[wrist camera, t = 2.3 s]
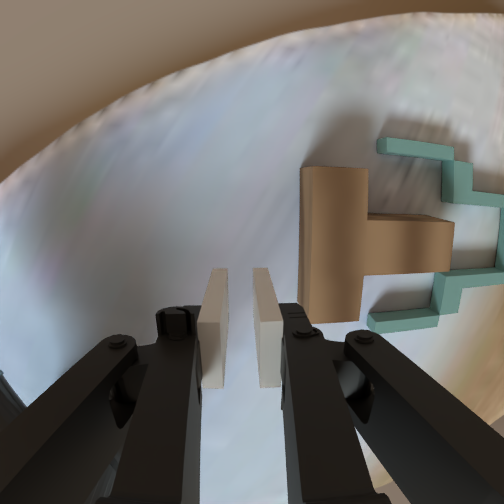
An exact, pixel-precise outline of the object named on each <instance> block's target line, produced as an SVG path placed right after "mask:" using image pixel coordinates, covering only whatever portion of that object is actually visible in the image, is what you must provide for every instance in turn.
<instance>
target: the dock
mask: <svg viewBox="0 0 504 504" xmlns="http://www.w3.org/2000/svg"><path fill="white" fill-rule="evenodd" d="M377 153H379V154H390V155H400V156H409V157H417V158H425V159H433V160H440V161H442V198H441V201H442V202H448V203H455V204H467V205H479V206H490V207H501V216H500V228H499V238H498V247H497V255H496V262H495V267H493V268H477V269H460V270H450V271H448V272H435V277H434V284H433V290H432V297H431V303H430V308H422V309H412V310H402V311H391V312H380V313H368V318H367V326H368V327H369V329H370V330H371V331H372V332H375V333H377V334H382V333H392V332H400V331H408V330H416V329H424V328H431V327H437V325H438V321H439V316H440V315H445V314H452V313H458V309H459V304H460V299H461V293H462V288H470V287H479V286H489V285H498V284H504V195H500V194H493V193H485V192H476V191H472V186H473V163H467V162H461V161H455V160H454V147H450V146H445V145H439V144H433V143H426V142H420V141H413V140H405V139H397V138H389V137H386V138H382V139H378V140H377Z"/></svg>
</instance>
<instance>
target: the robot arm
mask: <svg viewBox="0 0 504 504" xmlns="http://www.w3.org/2000/svg"><path fill="white" fill-rule="evenodd" d="M253 318H254V329H255V339H256V350H257V361H258V371H259V382H260V388H272V387H281V379H282V399H281V410H283V420H284V436H285V452H286V470H287V488H288V504H391V501H390V499H389V497H388V496H387V495H386V494H385V493H380V494H377V493H376V492H375V490H374V488H373V485H372V481H371V478H370V475H369V471H368V468H367V465H366V462H365V458H364V455H363V452H362V449H361V446H360V442H359V439H358V436H357V433H356V430H355V428H356V429H357V431H358V432H359V433H360V435H361V436H362V438H363V439H364V440H365V442H366V443H367V444H368V446H369V447H370V449H371V450H372V451H373V453H374V454H375V455H376V457H377V458H378V460H379V461H380V462H381V464H382V465H383V466H384V468H385V469H386V471H387V472H388V473H389V475H390V476H391V477H392V479H393V480H394V481H395V483H396V484H397V486H398V487H399V488H400V489H401V491H402V492H403V494H404V495H405V496H406V498H407V499H408V500H409V502H410V503H411V504H504V438H503V437H502V436H501V435H500V434H499V433H497V432H496V431H495V430H494V429H493V428H491V427H490V426H489V425H488V424H487V423H486V422H484V421H483V420H482V419H481V418H480V417H478V416H477V415H476V414H475V413H474V412H473V411H471V410H470V409H469V408H468V407H467V406H465V405H464V404H463V403H462V402H461V401H459V400H458V399H457V398H456V397H455V396H453V395H452V394H451V393H450V392H449V391H447V390H446V389H445V388H444V387H443V386H441V385H440V384H439V383H438V382H437V381H435V380H434V379H433V378H432V377H431V376H429V375H428V374H427V373H426V372H424V371H423V370H422V369H421V368H420V367H418V366H417V365H416V364H415V363H414V362H412V361H411V360H410V359H409V358H407V357H406V356H405V355H404V354H403V353H401V352H400V351H399V350H398V349H396V348H395V347H394V346H393V345H392V344H390V343H389V342H388V341H387V340H385V339H384V338H383V337H382V336H380V335H379V334H377V333H375V332H372V331H370V330H355V331H352V332H349V333H348V334H347V335H346V337H345V342H336V341H329V340H326V339H324V336H323V333H322V332H321V331H320V330H319V329H317V328H315V327H312V325H311V323H310V321H309V319H308V317H307V315H306V313H305V310H304V308H303V307H302V306H300V305H299V304H297V303H279V304H278V301H277V298H276V294H275V291H274V288H273V284H272V281H271V278H270V274H269V271H268V268H253ZM156 322H157V330H158V338H157V341H156V343H155V344H151V345H145V346H137V345H136V340H135V339H134V338H133V337H131V336H128V335H121V334H118V335H112V336H110V337H107V338H105V339H104V340H102V341H101V342H100V343H99V344H97V345H96V346H95V347H94V348H93V349H92V350H91V351H89V352H88V353H87V354H86V355H85V356H84V357H83V358H81V359H80V360H79V361H78V362H77V363H76V364H75V365H74V366H72V367H71V368H70V369H69V370H68V371H67V372H66V373H65V374H63V375H62V376H61V377H60V378H59V379H58V380H57V381H56V382H55V383H53V384H52V385H51V386H50V387H49V388H48V389H47V390H46V391H45V392H43V393H42V394H41V395H40V396H39V397H38V398H37V399H36V400H35V401H34V402H33V403H31V404H30V405H29V406H28V407H27V406H26V405H25V404H24V403H23V401H22V400H21V399H20V398H19V396H18V395H17V394H16V393H15V391H14V390H13V389H12V387H11V386H10V385H9V383H8V382H7V380H6V379H5V378H4V376H3V375H2V374H4V373H3V371H2V370H0V504H200V441H201V410H202V391H201V381H202V384H203V388H215V389H224V376H225V362H226V348H227V335H228V322H229V304H228V273H227V269H213V270H212V273H211V276H210V280H209V283H208V286H207V290H206V293H205V296H204V300H203V303H202V306H183V307H178V306H176V307H168V308H164V309H161V310H159V311H158V312H157V313H156ZM354 426H355V427H354Z"/></svg>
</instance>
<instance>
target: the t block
mask: <svg viewBox="0 0 504 504" xmlns="http://www.w3.org/2000/svg"><path fill="white" fill-rule="evenodd" d="M454 226H455V223H454V222H451V221H447V220H443V219H439V218H435V217H431V216H427V215H410V214H376V213H368V169H363V168H346V167H323V166H311V167H305V168H300V222H299V267H298V297H297V301H298V303H299V305H300V306H302V307H303V308H304V310H305V313H306V315H307V317H308V319H309V321H310V323H311V324H320V323H337V322H351V321H359V316H360V307H361V298H362V288H363V277H364V276H365V275H389V274H410V273H430V272H448V271H450V264H451V256H452V247H453V237H454Z"/></svg>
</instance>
